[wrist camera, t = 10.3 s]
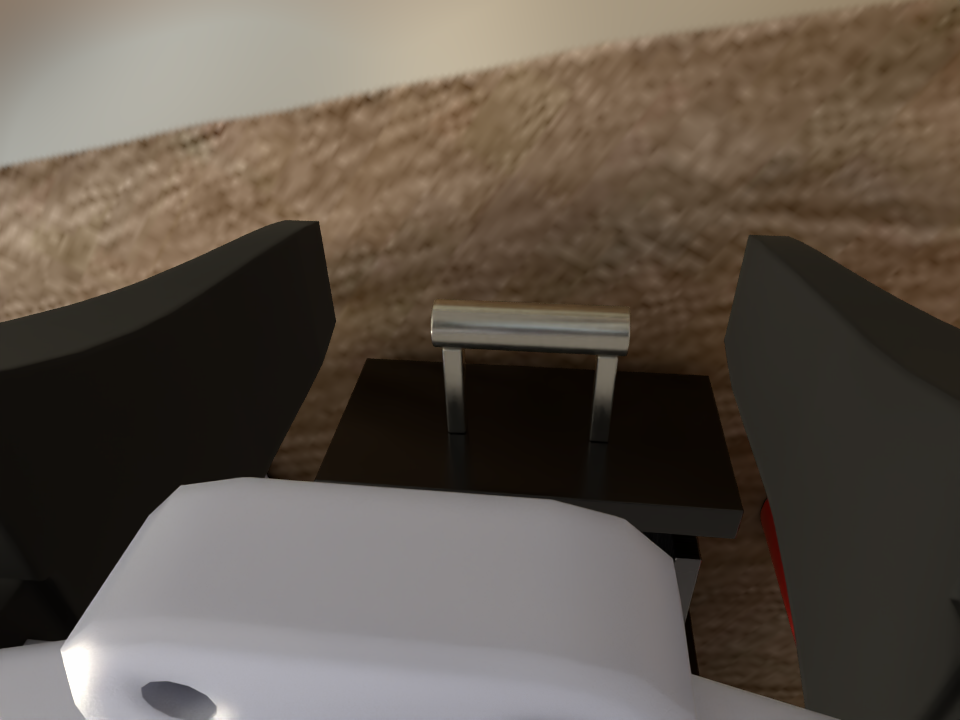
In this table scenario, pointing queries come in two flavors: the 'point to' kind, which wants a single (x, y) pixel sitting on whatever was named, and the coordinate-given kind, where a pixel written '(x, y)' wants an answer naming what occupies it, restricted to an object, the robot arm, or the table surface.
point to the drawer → (546, 426)
